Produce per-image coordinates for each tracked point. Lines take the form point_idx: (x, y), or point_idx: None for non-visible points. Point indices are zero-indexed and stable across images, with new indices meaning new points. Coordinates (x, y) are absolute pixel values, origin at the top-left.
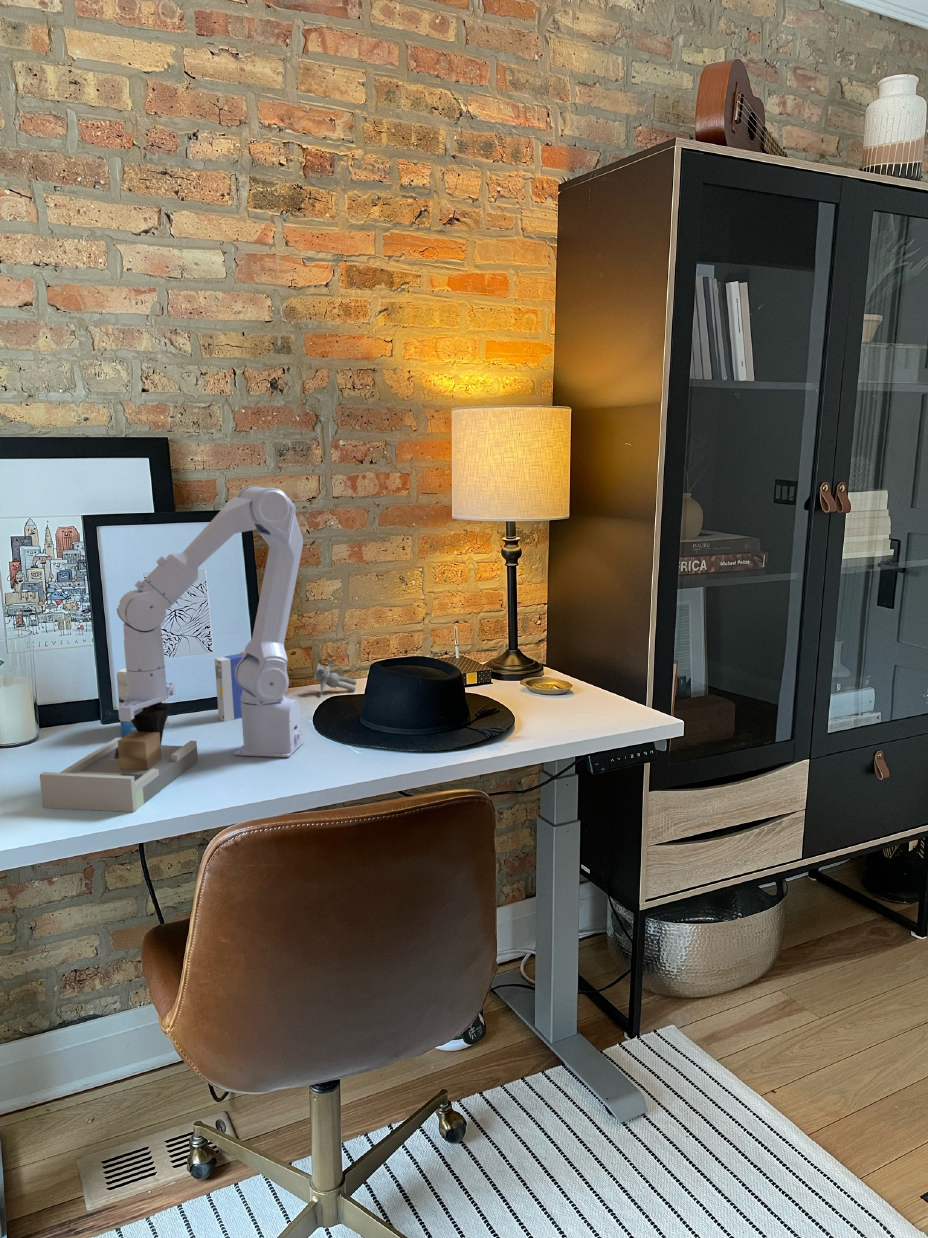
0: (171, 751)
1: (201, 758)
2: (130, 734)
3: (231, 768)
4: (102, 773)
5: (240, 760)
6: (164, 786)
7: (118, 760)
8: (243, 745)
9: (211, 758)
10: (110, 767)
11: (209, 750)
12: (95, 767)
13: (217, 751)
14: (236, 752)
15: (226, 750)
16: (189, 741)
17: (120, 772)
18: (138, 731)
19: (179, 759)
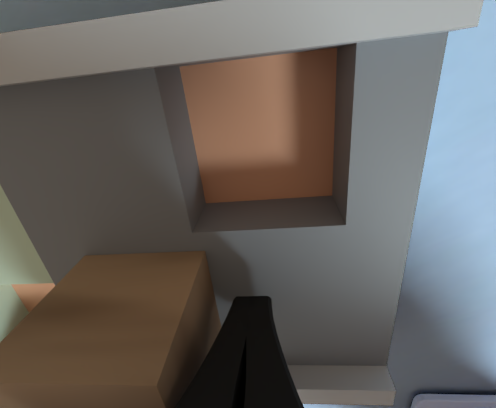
0: (321, 332)
1: (396, 329)
2: (96, 397)
3: (317, 404)
4: (9, 218)
5: (379, 405)
6: None
7: (160, 195)
8: (488, 404)
9: (396, 350)
10: (76, 210)
11: (482, 323)
12: (38, 142)
13: (467, 344)
14: (420, 404)
15: (474, 361)
16: (385, 390)
17: (58, 274)
18: (182, 405)
19: None
